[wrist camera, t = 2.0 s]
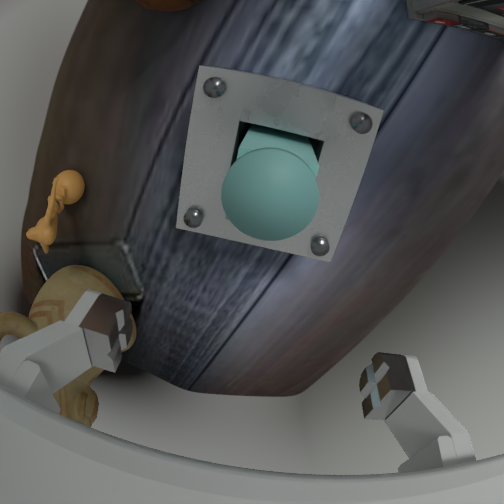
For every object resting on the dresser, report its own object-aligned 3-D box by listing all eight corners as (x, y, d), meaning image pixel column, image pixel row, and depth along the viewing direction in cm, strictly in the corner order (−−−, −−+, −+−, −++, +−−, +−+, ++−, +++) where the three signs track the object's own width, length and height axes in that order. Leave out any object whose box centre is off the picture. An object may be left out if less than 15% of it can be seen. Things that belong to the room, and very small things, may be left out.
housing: (217, 66, 26) (197, 65, 20) (362, 101, 27) (386, 111, 20) (195, 197, 34) (174, 231, 27) (322, 226, 34) (330, 266, 28)
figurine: (72, 144, 31) (3, 182, 21) (113, 163, 32) (49, 210, 22) (60, 202, 35) (1, 252, 25) (96, 221, 36) (43, 279, 26)
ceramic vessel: (96, 347, 50) (40, 466, 29) (28, 259, 41) (-65, 375, 20) (171, 333, 46) (119, 490, 25) (95, 223, 37) (-30, 378, 15)
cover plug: (250, 112, 28) (230, 140, 18) (312, 127, 29) (331, 165, 18) (238, 169, 32) (214, 229, 21) (296, 183, 32) (303, 249, 21)
